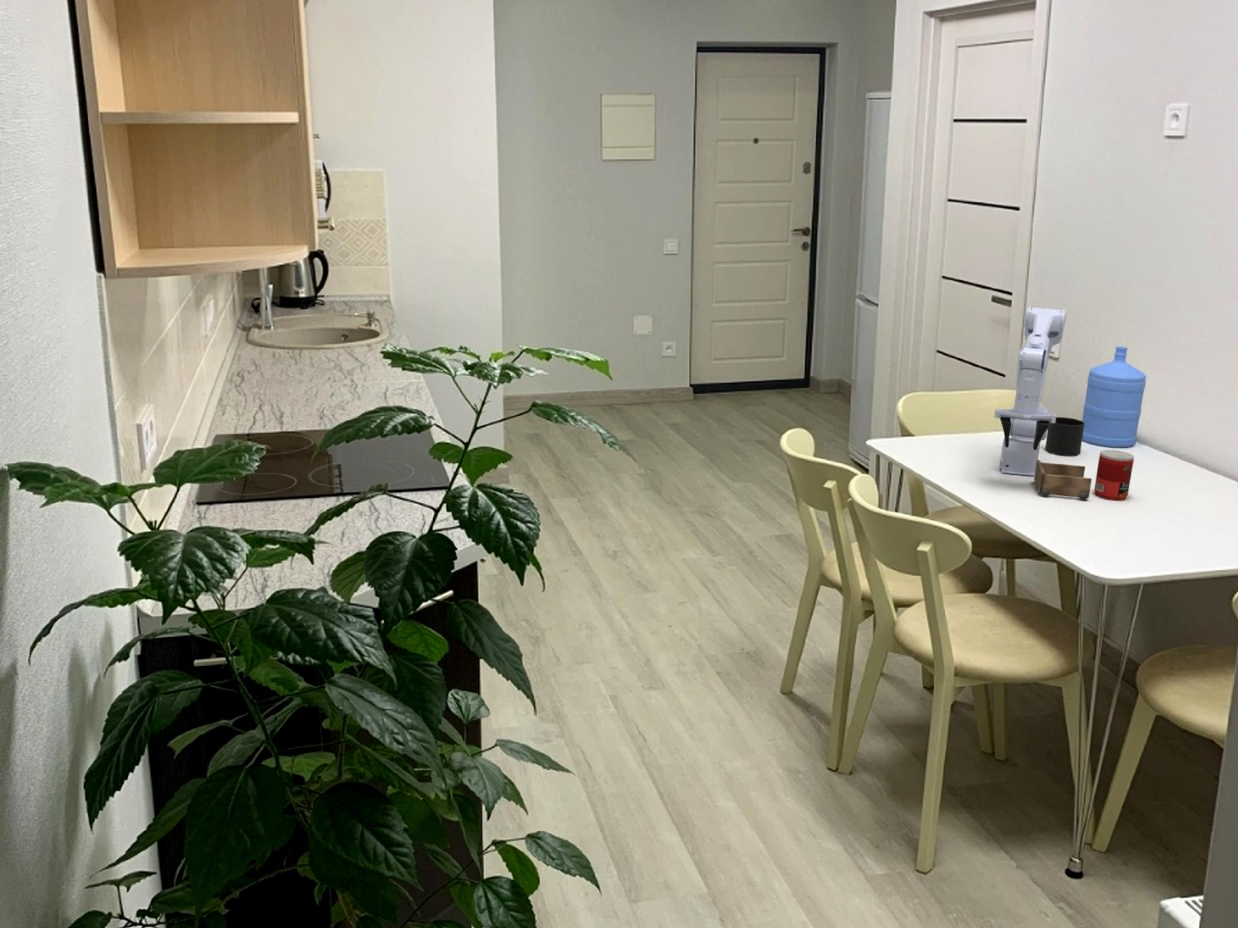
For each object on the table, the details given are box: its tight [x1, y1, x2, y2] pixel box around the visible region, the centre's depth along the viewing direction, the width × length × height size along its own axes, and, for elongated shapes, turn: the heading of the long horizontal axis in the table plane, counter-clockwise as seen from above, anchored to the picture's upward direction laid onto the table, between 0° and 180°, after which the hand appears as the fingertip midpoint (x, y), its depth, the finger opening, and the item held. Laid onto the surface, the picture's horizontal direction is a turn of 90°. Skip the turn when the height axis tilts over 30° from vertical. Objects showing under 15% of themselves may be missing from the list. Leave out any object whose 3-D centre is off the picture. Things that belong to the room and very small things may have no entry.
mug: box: [1044, 416, 1084, 457], centre depth 339 cm, size 9×12×9 cm
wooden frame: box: [1033, 459, 1092, 502], centre depth 302 cm, size 12×13×6 cm
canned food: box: [1094, 449, 1135, 501], centre depth 299 cm, size 8×8×11 cm
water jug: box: [1081, 346, 1147, 449], centre depth 348 cm, size 16×16×28 cm
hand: (1020, 447), depth 302 cm, fingers open, 6 cm apart
